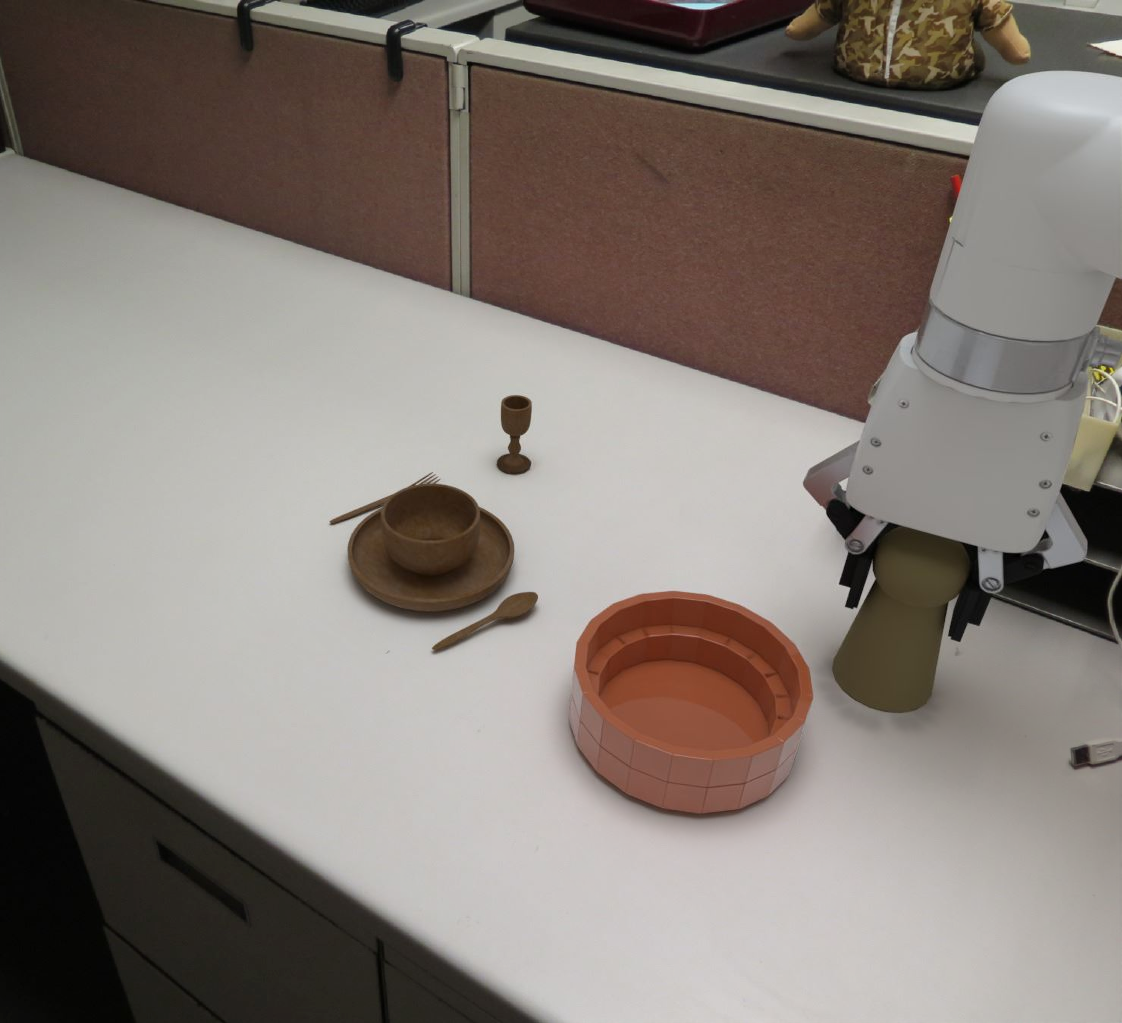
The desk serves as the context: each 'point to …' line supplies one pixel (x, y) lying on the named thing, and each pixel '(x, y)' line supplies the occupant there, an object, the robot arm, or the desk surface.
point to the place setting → (441, 542)
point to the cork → (902, 620)
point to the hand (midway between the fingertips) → (905, 608)
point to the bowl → (688, 701)
